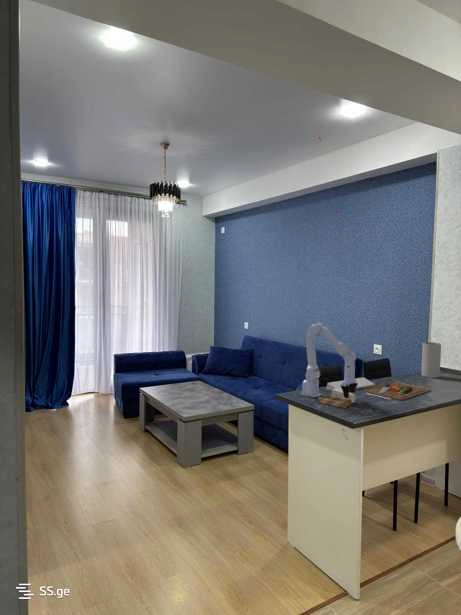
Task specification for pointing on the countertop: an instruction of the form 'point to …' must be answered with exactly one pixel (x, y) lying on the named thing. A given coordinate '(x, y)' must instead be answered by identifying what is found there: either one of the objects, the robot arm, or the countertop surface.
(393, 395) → the chopping board
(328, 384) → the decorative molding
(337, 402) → the oak rack
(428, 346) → the cylinder vase
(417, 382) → the countertop surface
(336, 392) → the light grey rectangular block
